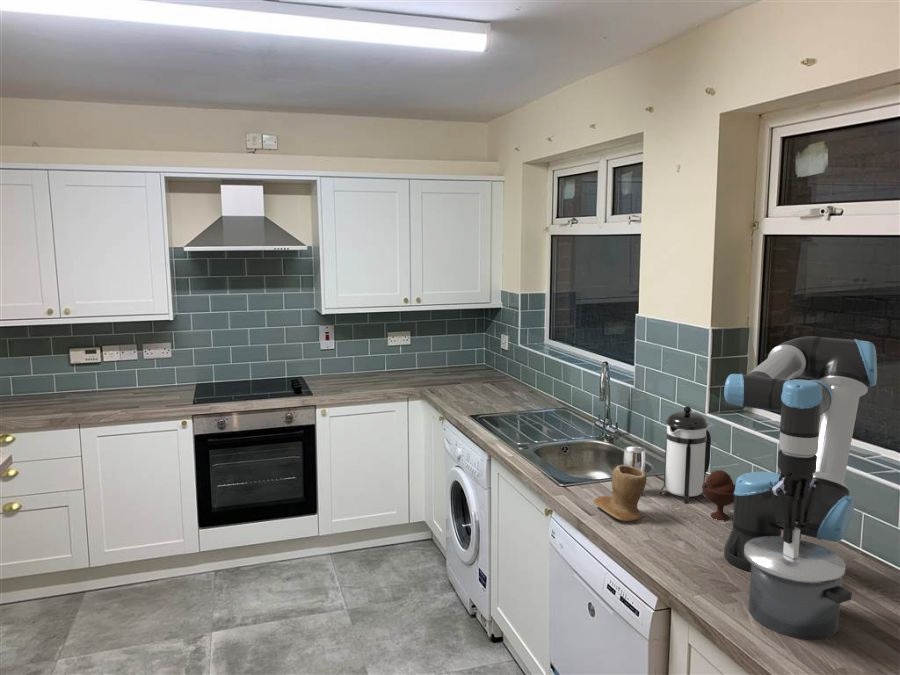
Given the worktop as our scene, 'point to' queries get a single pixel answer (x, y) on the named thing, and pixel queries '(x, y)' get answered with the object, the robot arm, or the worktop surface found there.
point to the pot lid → (795, 560)
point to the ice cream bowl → (719, 492)
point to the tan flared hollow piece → (624, 494)
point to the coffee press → (686, 454)
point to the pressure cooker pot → (796, 605)
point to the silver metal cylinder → (634, 457)
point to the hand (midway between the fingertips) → (790, 555)
